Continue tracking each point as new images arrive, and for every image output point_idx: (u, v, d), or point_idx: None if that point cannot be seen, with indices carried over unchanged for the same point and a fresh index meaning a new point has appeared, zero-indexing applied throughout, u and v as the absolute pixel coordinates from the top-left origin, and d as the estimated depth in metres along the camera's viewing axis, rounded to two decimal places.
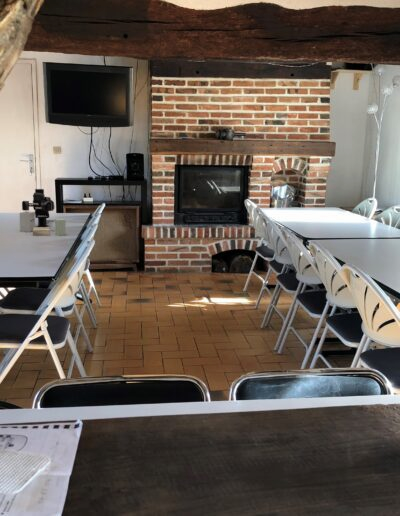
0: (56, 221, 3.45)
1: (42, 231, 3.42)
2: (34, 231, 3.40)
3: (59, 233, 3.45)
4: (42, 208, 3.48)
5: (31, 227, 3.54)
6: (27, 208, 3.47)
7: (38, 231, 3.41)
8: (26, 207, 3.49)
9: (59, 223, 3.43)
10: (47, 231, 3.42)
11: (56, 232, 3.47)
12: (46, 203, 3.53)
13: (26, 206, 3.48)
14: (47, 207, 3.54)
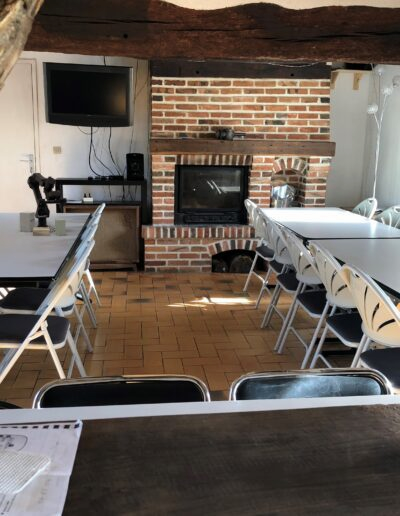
0: (56, 221, 3.45)
1: (42, 231, 3.42)
2: (34, 231, 3.40)
3: (59, 233, 3.45)
4: (62, 211, 3.55)
5: (31, 227, 3.54)
6: (48, 212, 3.49)
7: (38, 231, 3.41)
8: (46, 210, 3.49)
9: (59, 223, 3.43)
10: (47, 231, 3.42)
11: (56, 232, 3.47)
12: (63, 202, 3.56)
13: (47, 210, 3.49)
14: (63, 204, 3.58)
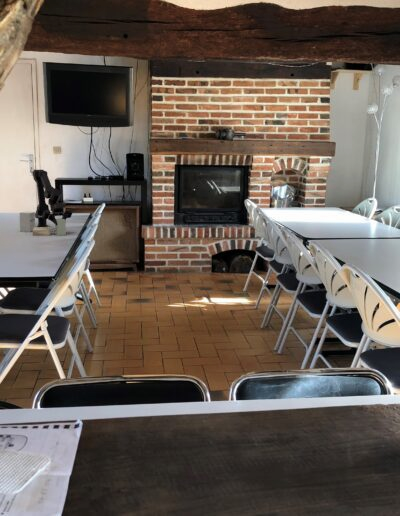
0: None
1: (42, 231, 3.42)
2: (34, 231, 3.40)
3: (59, 233, 3.45)
4: None
5: (31, 227, 3.54)
6: None
7: (38, 231, 3.41)
8: (54, 222, 3.44)
9: (59, 223, 3.43)
10: (47, 231, 3.42)
11: (56, 232, 3.47)
12: (66, 215, 3.49)
13: (55, 222, 3.44)
14: (65, 217, 3.51)
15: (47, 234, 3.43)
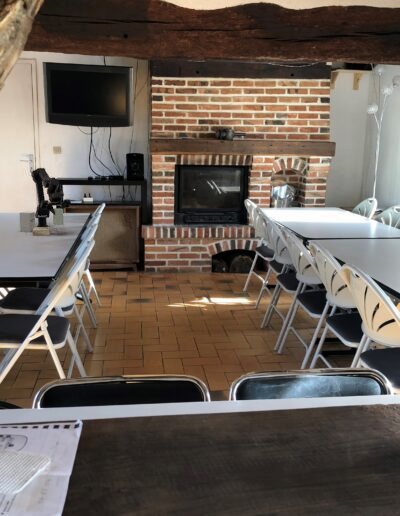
0: (54, 210, 3.43)
1: (41, 231, 3.42)
2: (34, 231, 3.41)
3: (57, 222, 3.43)
4: None
5: (31, 227, 3.54)
6: (54, 214, 3.43)
7: (37, 231, 3.41)
8: (52, 212, 3.43)
9: (56, 212, 3.41)
10: (46, 231, 3.42)
11: (53, 222, 3.46)
12: (64, 204, 3.47)
13: (53, 211, 3.42)
14: (64, 206, 3.50)
15: (47, 234, 3.43)
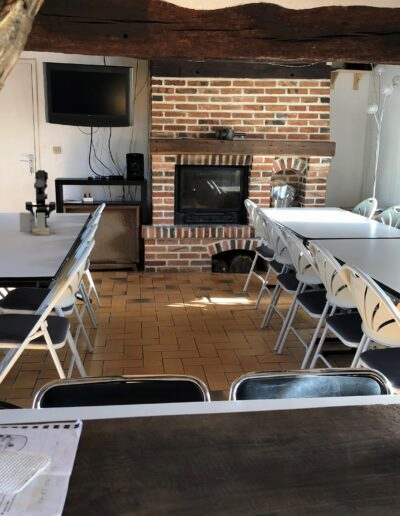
0: None
1: (41, 231, 3.42)
2: (33, 231, 3.41)
3: (39, 227, 3.43)
4: None
5: (31, 227, 3.54)
6: (33, 216, 3.42)
7: (37, 231, 3.41)
8: (32, 214, 3.43)
9: (37, 216, 3.42)
10: (46, 231, 3.42)
11: None
12: (51, 206, 3.46)
13: (32, 213, 3.42)
14: (52, 208, 3.49)
15: (47, 234, 3.43)
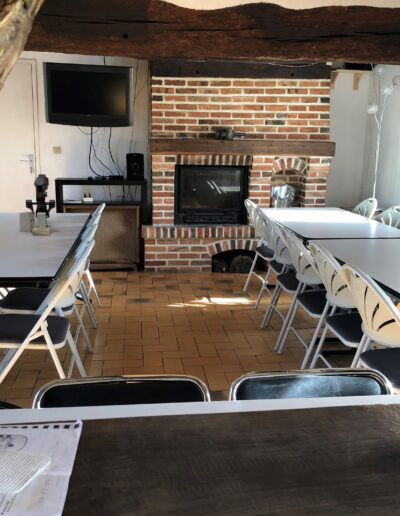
0: (37, 215, 3.43)
1: (41, 231, 3.41)
2: (33, 231, 3.41)
3: (39, 227, 3.43)
4: (48, 213, 3.51)
5: (31, 227, 3.54)
6: (33, 213, 3.48)
7: (37, 231, 3.41)
8: (32, 211, 3.48)
9: (38, 216, 3.42)
10: (46, 231, 3.42)
11: None
12: (51, 204, 3.52)
13: (32, 211, 3.48)
14: (52, 206, 3.54)
15: (47, 234, 3.42)
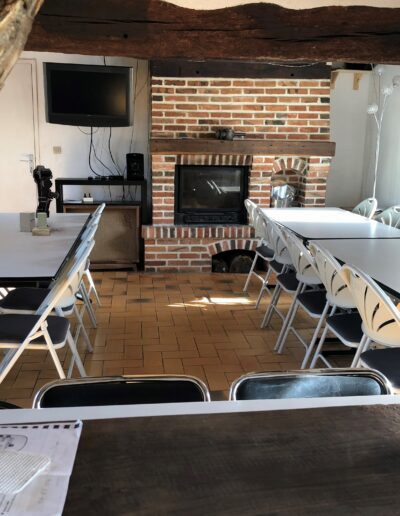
0: (37, 215, 3.44)
1: (41, 231, 3.41)
2: (33, 231, 3.41)
3: (40, 227, 3.43)
4: (47, 209, 3.62)
5: (31, 227, 3.54)
6: (43, 210, 3.53)
7: (37, 231, 3.41)
8: (43, 208, 3.52)
9: (39, 216, 3.42)
10: (46, 231, 3.42)
11: None
12: (51, 201, 3.63)
13: (44, 209, 3.52)
14: None
15: (46, 234, 3.42)
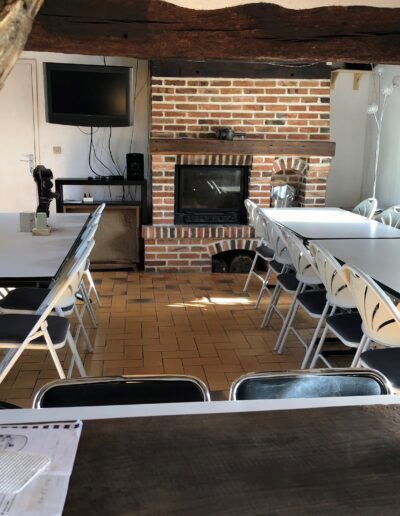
0: (37, 215, 3.43)
1: (41, 231, 3.41)
2: (33, 231, 3.40)
3: (40, 227, 3.43)
4: (47, 209, 3.62)
5: (31, 227, 3.54)
6: (44, 211, 3.53)
7: (37, 231, 3.41)
8: (44, 209, 3.52)
9: (39, 216, 3.42)
10: (46, 231, 3.42)
11: (37, 226, 3.46)
12: None
13: (45, 209, 3.52)
14: None
15: (46, 234, 3.42)
